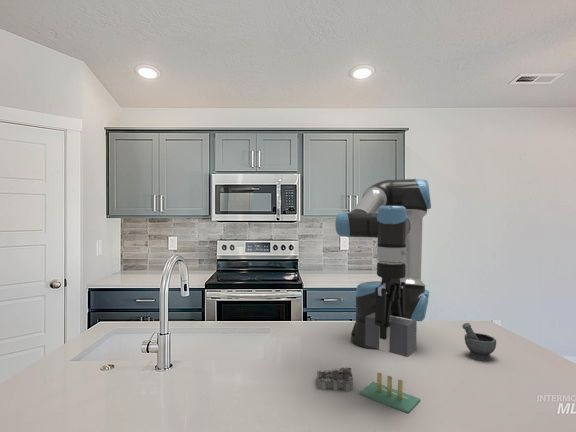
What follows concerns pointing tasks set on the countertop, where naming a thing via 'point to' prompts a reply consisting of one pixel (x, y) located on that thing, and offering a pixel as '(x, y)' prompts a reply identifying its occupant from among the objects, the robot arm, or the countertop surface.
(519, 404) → the countertop surface
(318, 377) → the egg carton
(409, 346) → the block
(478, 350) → the mortar and pestle
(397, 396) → the board
